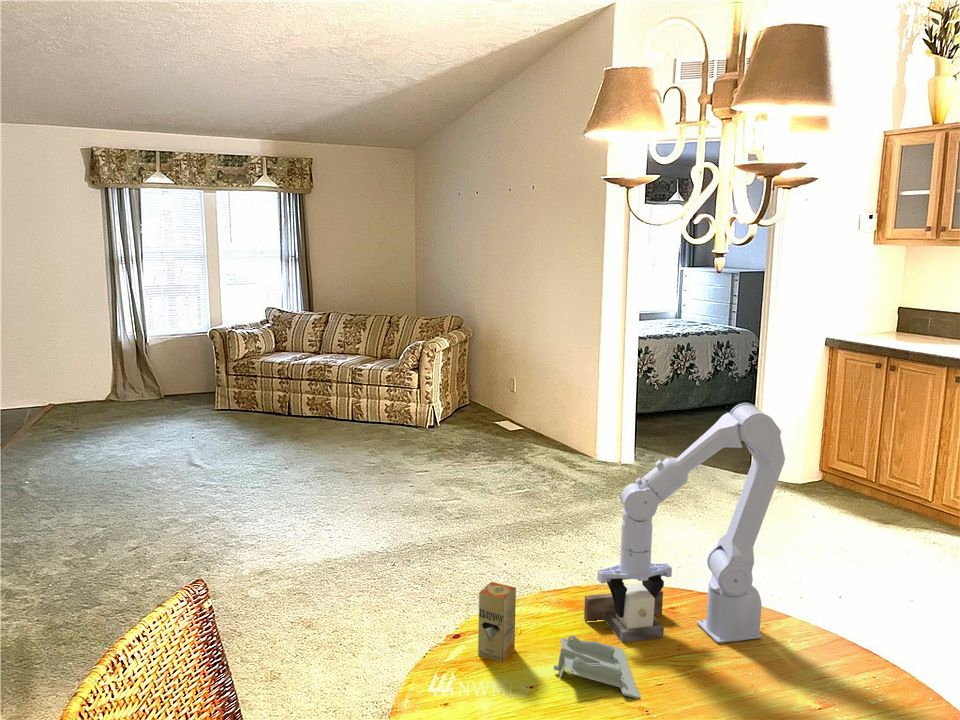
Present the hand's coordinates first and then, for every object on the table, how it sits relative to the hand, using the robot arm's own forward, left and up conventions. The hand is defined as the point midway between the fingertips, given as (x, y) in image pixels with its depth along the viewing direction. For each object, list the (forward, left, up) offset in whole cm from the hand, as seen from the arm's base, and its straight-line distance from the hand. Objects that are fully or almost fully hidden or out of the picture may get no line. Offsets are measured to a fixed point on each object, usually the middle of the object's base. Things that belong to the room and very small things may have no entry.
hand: (632, 613), depth 149 cm
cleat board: (0, 0, -3) cm, 3 cm away
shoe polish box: (+28, +3, -3) cm, 28 cm away
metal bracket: (+13, +13, -4) cm, 19 cm away
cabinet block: (0, +1, -2) cm, 2 cm away
